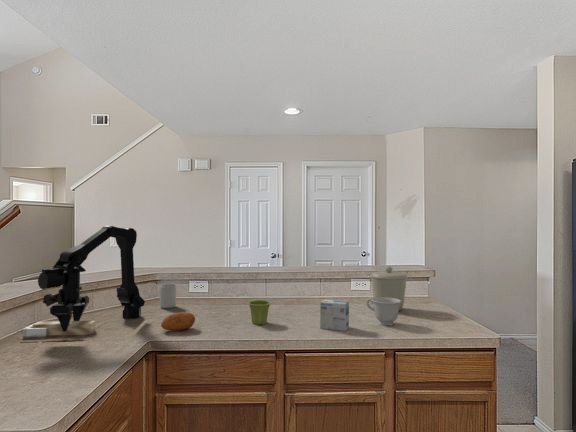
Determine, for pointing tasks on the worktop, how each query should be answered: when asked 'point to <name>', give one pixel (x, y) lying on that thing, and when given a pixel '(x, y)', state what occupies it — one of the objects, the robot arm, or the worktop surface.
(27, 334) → the cup bracket
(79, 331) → the rail
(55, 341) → the mounting board
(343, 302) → the light bulb box
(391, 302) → the teacup
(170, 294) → the can
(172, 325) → the potato
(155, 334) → the worktop surface
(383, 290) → the canister
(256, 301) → the plant pot
